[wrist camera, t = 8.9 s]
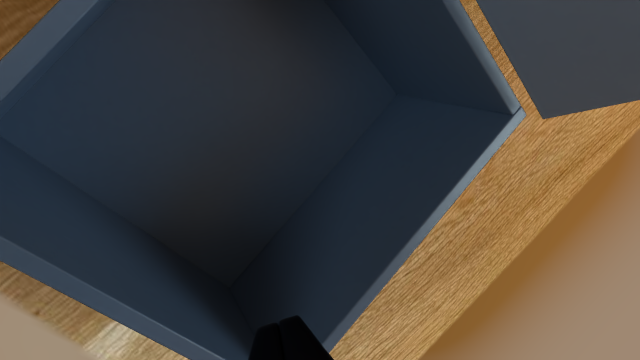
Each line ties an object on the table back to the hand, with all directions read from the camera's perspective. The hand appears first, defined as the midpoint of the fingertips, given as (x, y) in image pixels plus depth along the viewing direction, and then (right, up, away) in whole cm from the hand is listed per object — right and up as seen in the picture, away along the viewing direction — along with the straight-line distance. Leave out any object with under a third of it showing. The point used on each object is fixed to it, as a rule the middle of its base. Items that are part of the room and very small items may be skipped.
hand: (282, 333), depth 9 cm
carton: (-3, +6, +10) cm, 12 cm away
